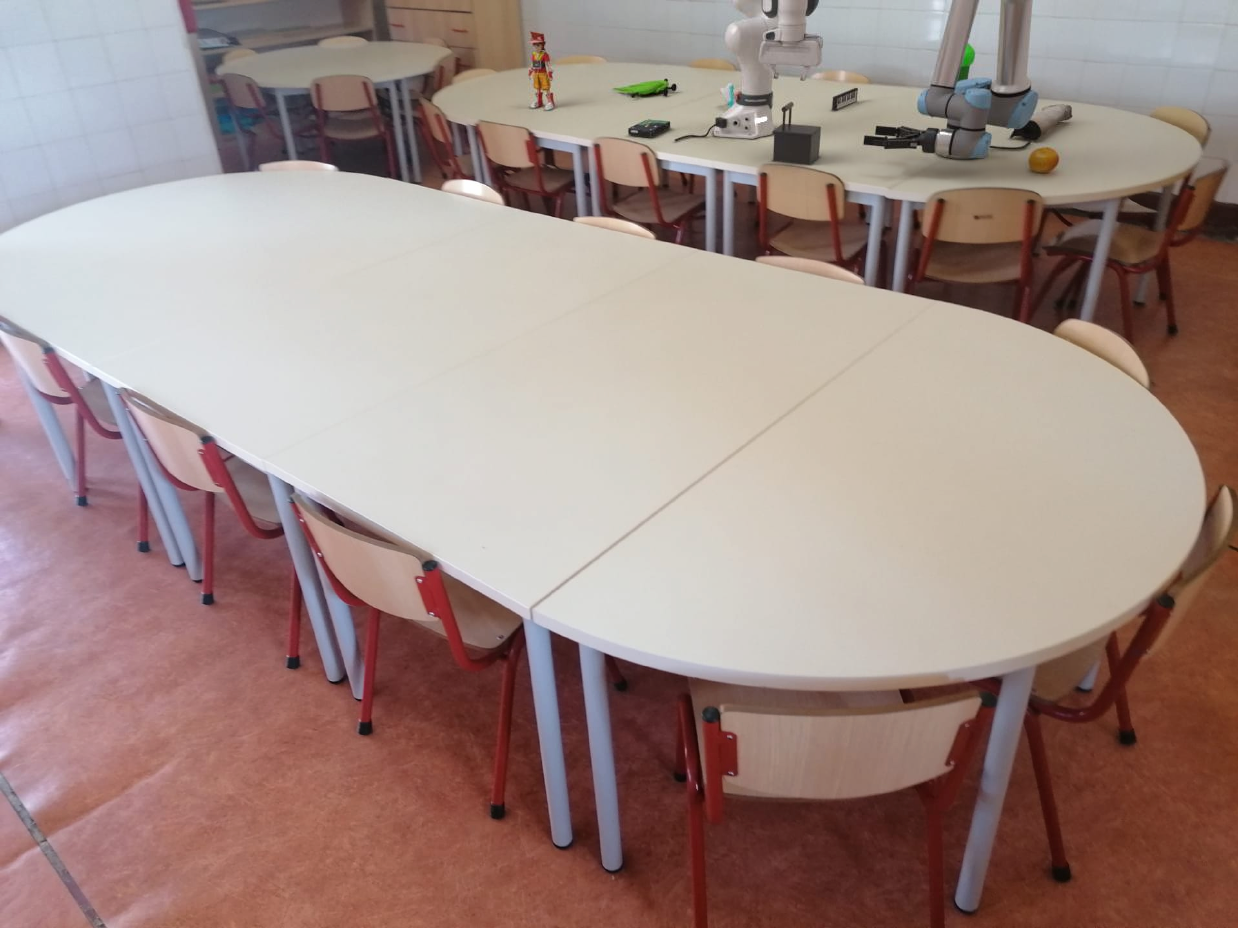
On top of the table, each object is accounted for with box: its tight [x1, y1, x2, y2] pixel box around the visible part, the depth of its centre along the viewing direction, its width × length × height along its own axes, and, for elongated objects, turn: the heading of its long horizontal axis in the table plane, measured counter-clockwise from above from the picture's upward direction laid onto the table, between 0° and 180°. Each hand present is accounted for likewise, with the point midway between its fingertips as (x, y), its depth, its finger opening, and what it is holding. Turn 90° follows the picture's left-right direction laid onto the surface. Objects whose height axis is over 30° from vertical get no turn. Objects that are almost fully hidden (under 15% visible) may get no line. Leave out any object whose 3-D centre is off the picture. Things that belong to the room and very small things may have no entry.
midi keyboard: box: [831, 87, 859, 111], centre depth 357 cm, size 18×1×5 cm, turn 138°
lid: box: [771, 101, 822, 137], centre depth 297 cm, size 14×10×8 cm
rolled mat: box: [1009, 103, 1073, 142], centre depth 315 cm, size 30×9×10 cm
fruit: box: [1027, 147, 1060, 174], centre depth 278 cm, size 8×8×8 cm
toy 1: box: [527, 31, 556, 111], centre depth 374 cm, size 12×9×30 cm
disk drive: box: [627, 118, 671, 138], centre depth 341 cm, size 10×3×15 cm
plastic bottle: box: [957, 35, 976, 82], centre depth 348 cm, size 10×10×25 cm
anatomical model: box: [719, 82, 742, 108], centre depth 364 cm, size 15×10×10 cm
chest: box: [772, 129, 822, 166], centre depth 302 cm, size 13×10×9 cm
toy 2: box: [612, 78, 677, 99], centre depth 396 cm, size 28×5×30 cm
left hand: (789, 79), depth 292 cm, fingers open, 8 cm apart
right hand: (869, 135), depth 288 cm, fingers open, 13 cm apart
